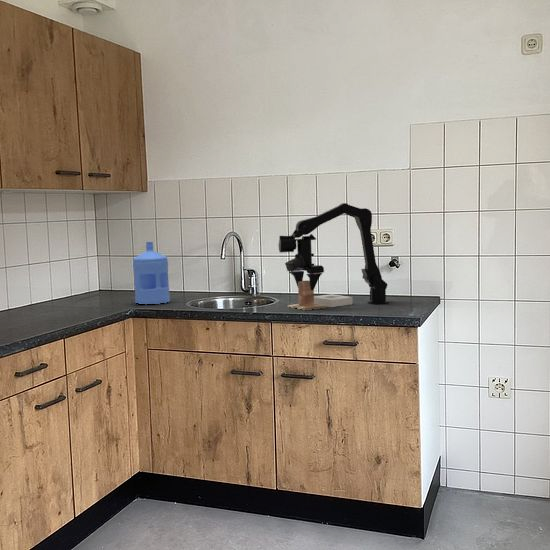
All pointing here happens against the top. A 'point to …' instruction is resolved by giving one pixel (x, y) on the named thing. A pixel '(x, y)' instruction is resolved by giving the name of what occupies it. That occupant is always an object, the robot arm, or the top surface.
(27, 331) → the top surface
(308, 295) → the terracotta peg
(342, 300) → the pocket plate
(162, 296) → the water jug
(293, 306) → the slatted wooden trivet
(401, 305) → the top surface
